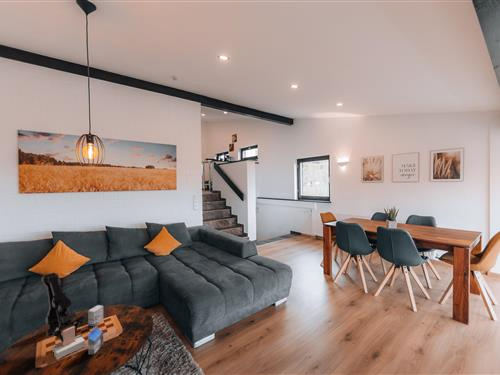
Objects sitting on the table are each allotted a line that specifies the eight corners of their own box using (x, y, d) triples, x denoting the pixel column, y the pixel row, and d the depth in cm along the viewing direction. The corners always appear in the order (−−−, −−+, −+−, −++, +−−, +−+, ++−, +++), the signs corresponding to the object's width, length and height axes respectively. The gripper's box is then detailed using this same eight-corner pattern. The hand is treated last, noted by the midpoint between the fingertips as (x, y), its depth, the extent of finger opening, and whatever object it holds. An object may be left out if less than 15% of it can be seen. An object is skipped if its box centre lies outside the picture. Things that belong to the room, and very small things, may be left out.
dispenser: (52, 353, 141) (52, 346, 141) (80, 340, 152) (80, 334, 152) (57, 360, 136) (56, 352, 136) (85, 346, 147) (85, 339, 147)
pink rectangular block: (62, 351, 143) (61, 330, 142) (74, 346, 147) (73, 325, 147) (63, 353, 141) (62, 332, 141) (75, 347, 146) (74, 327, 146)
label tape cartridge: (94, 354, 140) (94, 334, 140) (87, 354, 140) (87, 334, 140) (103, 344, 149) (103, 325, 149) (97, 344, 149) (97, 325, 149)
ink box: (93, 328, 165) (93, 311, 165) (88, 327, 166) (87, 310, 166) (103, 320, 174) (103, 305, 173) (98, 320, 175) (97, 304, 174)
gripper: (46, 316, 139) (52, 342, 132) (83, 303, 153) (90, 326, 147) (43, 324, 144) (48, 349, 137) (79, 310, 158) (85, 333, 152)
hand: (69, 339), depth 143 cm, fingers closed on pink rectangular block, 6 cm apart
